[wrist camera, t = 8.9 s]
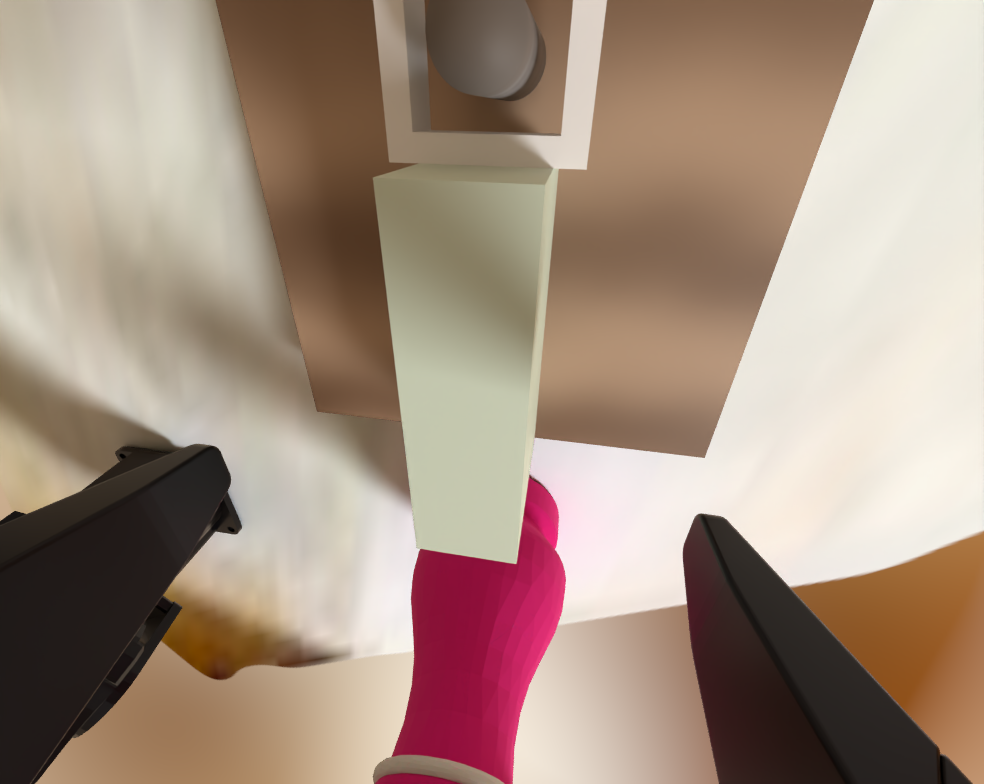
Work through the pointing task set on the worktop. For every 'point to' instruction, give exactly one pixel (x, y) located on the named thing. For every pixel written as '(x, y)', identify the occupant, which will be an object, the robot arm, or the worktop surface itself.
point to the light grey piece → (471, 285)
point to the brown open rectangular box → (580, 193)
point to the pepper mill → (477, 654)
